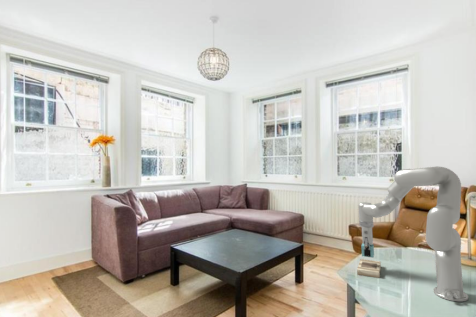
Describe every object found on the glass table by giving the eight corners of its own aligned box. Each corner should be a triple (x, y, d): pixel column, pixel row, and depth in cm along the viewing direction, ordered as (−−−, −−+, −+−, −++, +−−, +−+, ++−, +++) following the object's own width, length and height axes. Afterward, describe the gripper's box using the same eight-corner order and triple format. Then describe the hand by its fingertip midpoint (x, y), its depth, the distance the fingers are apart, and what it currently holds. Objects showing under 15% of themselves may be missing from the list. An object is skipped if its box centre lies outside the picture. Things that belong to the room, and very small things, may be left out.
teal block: (373, 257, 150) (372, 247, 150) (361, 256, 153) (361, 245, 153) (374, 254, 155) (373, 244, 155) (363, 253, 158) (362, 243, 158)
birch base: (379, 278, 143) (378, 272, 143) (357, 274, 148) (357, 268, 149) (380, 266, 158) (380, 261, 158) (360, 263, 164) (360, 258, 164)
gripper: (372, 227, 145) (374, 260, 145) (374, 221, 160) (376, 250, 159) (357, 226, 149) (359, 258, 148) (360, 220, 164) (362, 249, 163)
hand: (368, 254), depth 154 cm, fingers closed on teal block, 6 cm apart
